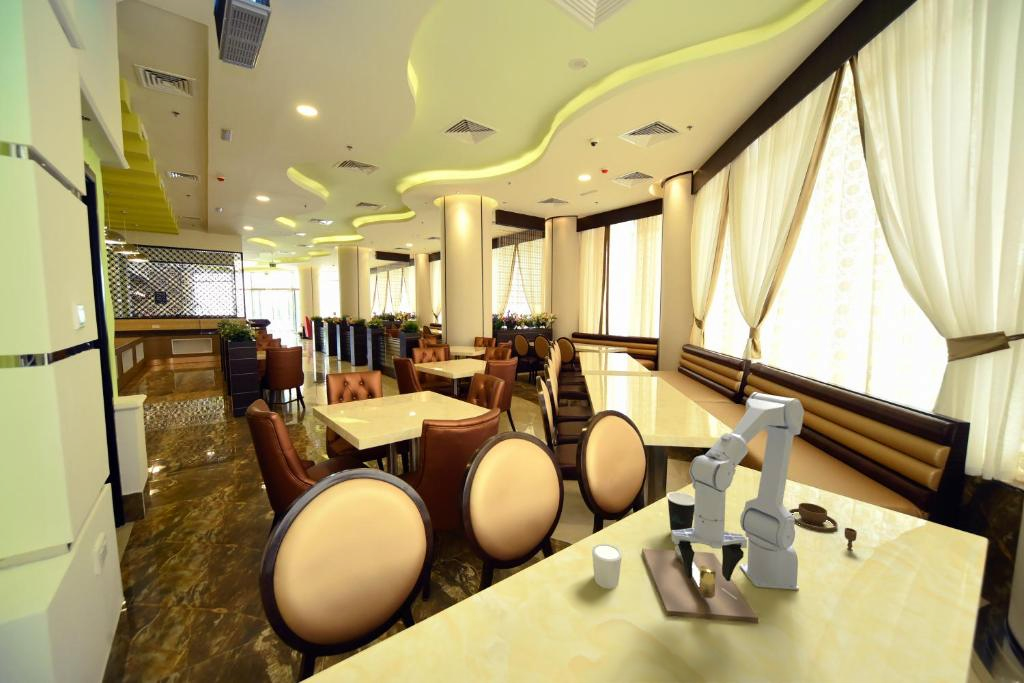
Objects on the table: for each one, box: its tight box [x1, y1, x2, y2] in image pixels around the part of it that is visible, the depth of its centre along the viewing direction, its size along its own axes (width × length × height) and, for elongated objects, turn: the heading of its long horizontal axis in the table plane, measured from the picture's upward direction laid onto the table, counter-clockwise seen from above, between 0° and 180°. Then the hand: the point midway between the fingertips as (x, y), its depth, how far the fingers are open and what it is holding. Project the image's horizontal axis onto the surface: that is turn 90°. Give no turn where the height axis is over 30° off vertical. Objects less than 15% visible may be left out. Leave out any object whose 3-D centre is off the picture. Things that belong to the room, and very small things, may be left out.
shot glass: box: [591, 543, 623, 589], centre depth 91 cm, size 7×7×7 cm
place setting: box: [788, 502, 858, 552], centre depth 114 cm, size 18×20×6 cm
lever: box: [674, 544, 716, 598], centre depth 89 cm, size 4×18×7 cm, turn 174°
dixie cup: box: [666, 491, 695, 533], centre depth 110 cm, size 8×8×11 cm
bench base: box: [641, 548, 760, 624], centre depth 90 cm, size 18×22×1 cm
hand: (707, 576), depth 82 cm, fingers open, 7 cm apart
